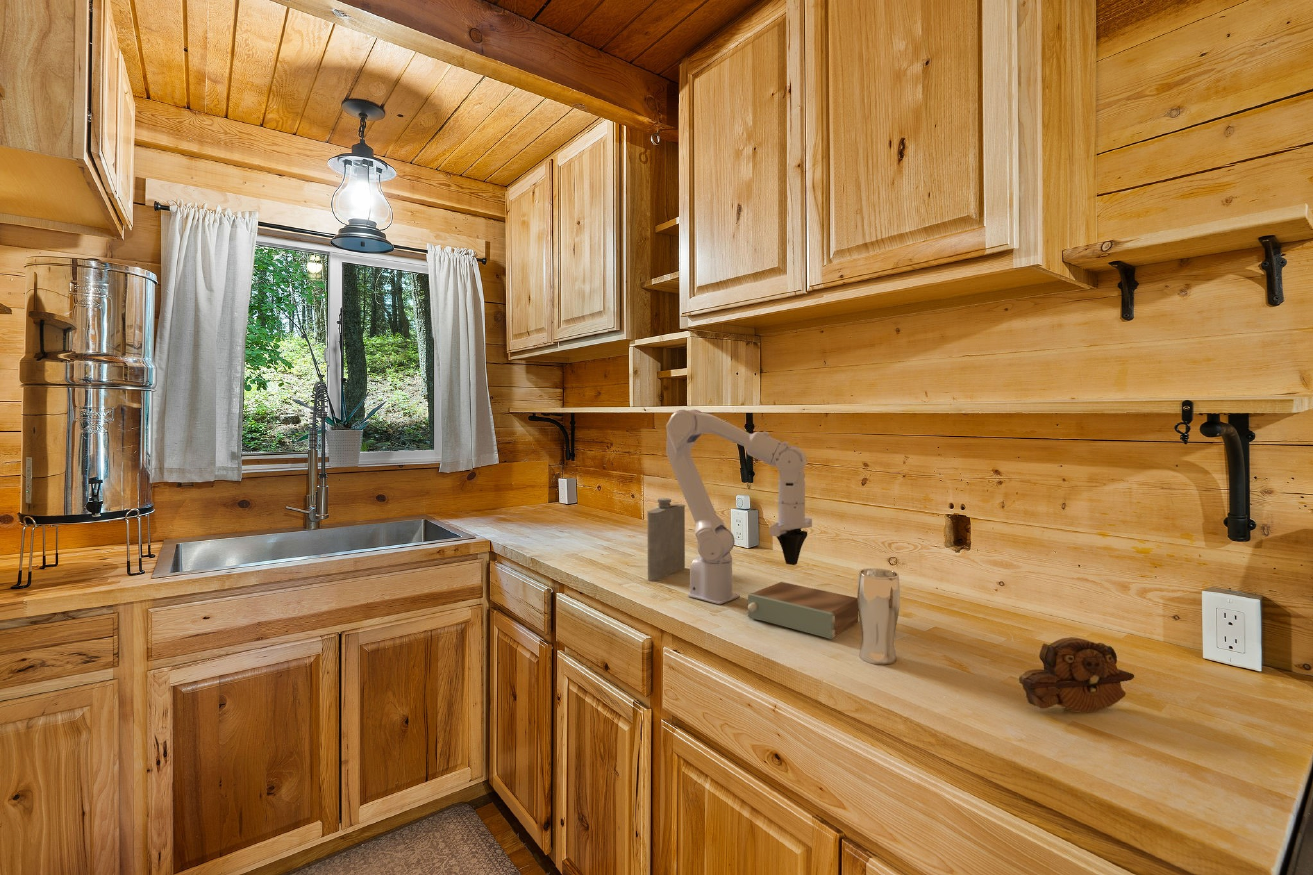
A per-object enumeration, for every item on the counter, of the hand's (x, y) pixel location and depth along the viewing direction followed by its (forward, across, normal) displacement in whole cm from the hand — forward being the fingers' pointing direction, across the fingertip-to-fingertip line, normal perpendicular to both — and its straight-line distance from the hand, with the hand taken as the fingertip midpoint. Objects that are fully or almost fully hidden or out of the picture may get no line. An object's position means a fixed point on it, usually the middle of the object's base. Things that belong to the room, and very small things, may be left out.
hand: (791, 564), depth 137 cm
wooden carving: (+10, -14, -55) cm, 58 cm away
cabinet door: (+9, -13, -7) cm, 18 cm away
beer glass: (+10, -15, -26) cm, 32 cm away
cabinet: (+9, -6, -6) cm, 13 cm away
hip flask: (+10, +2, +39) cm, 40 cm away
